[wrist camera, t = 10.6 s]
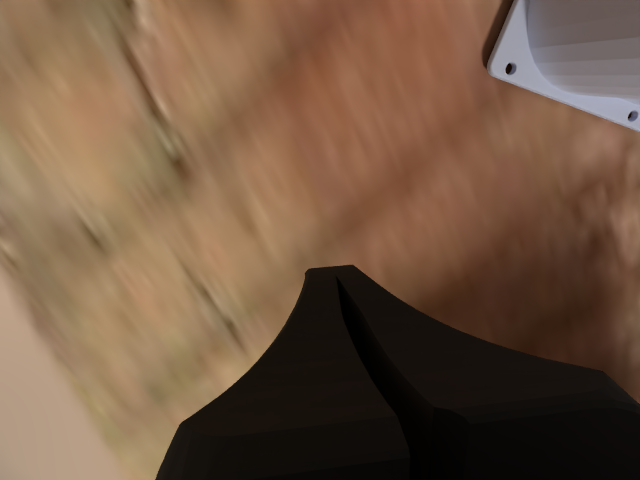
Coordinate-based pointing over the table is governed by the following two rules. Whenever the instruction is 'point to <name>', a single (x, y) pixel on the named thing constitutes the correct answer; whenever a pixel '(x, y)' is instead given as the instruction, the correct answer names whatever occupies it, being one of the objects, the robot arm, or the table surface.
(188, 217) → the table surface
